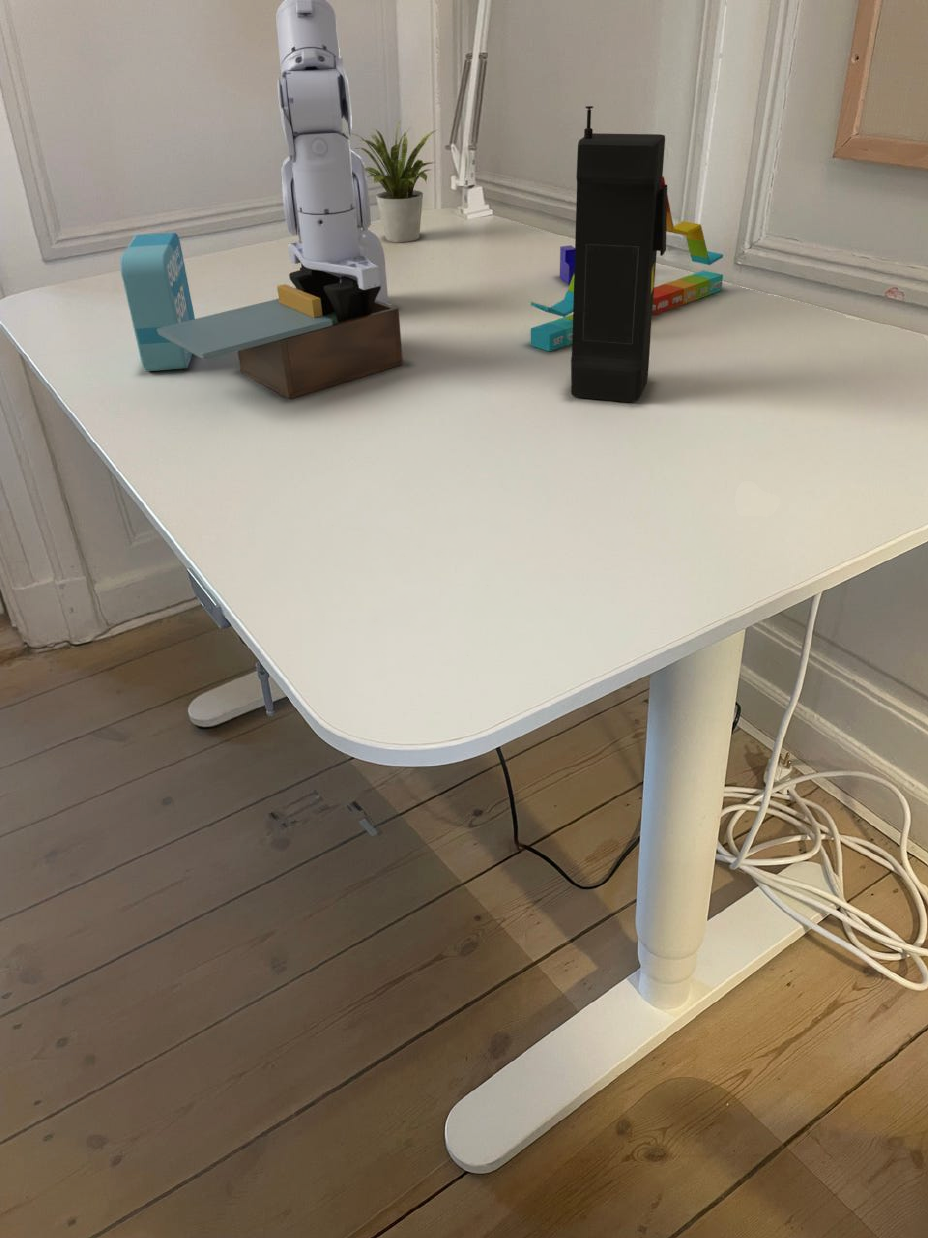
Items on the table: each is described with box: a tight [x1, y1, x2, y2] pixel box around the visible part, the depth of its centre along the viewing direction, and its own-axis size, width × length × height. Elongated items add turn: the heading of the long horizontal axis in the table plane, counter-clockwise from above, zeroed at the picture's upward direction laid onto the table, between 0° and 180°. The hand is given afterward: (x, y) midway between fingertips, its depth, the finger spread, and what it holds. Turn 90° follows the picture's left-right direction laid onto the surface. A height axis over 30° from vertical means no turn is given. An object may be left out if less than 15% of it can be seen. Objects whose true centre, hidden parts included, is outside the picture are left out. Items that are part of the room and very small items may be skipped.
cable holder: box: [559, 244, 575, 286], centre depth 126 cm, size 8×4×4 cm, turn 105°
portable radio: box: [570, 105, 668, 403], centre depth 88 cm, size 8×6×25 cm
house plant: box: [343, 119, 437, 243], centre depth 144 cm, size 14×14×16 cm
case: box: [236, 300, 404, 400], centre depth 101 cm, size 14×10×6 cm
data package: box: [119, 232, 196, 372], centre depth 105 cm, size 12×4×12 cm, turn 7°
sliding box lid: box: [157, 283, 333, 361], centre depth 95 cm, size 14×10×2 cm
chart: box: [530, 176, 724, 352], centre depth 109 cm, size 30×3×15 cm, turn 131°
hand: (341, 343), depth 103 cm, fingers closed on block, 5 cm apart
